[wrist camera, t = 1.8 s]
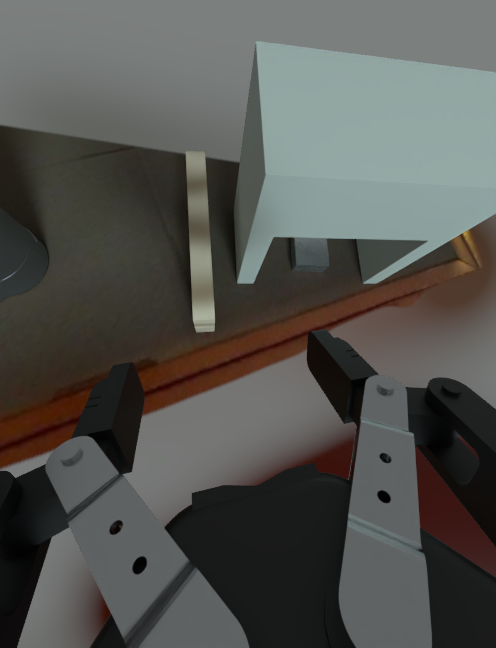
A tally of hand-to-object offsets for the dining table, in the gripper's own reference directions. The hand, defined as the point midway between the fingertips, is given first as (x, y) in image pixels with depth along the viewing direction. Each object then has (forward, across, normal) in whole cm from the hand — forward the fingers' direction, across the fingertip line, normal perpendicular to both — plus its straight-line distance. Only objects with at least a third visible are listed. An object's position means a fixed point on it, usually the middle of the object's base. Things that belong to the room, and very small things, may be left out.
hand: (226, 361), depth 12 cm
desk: (+29, -16, +3) cm, 34 cm away
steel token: (+29, -16, +5) cm, 33 cm away
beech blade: (+29, 0, +3) cm, 30 cm away
